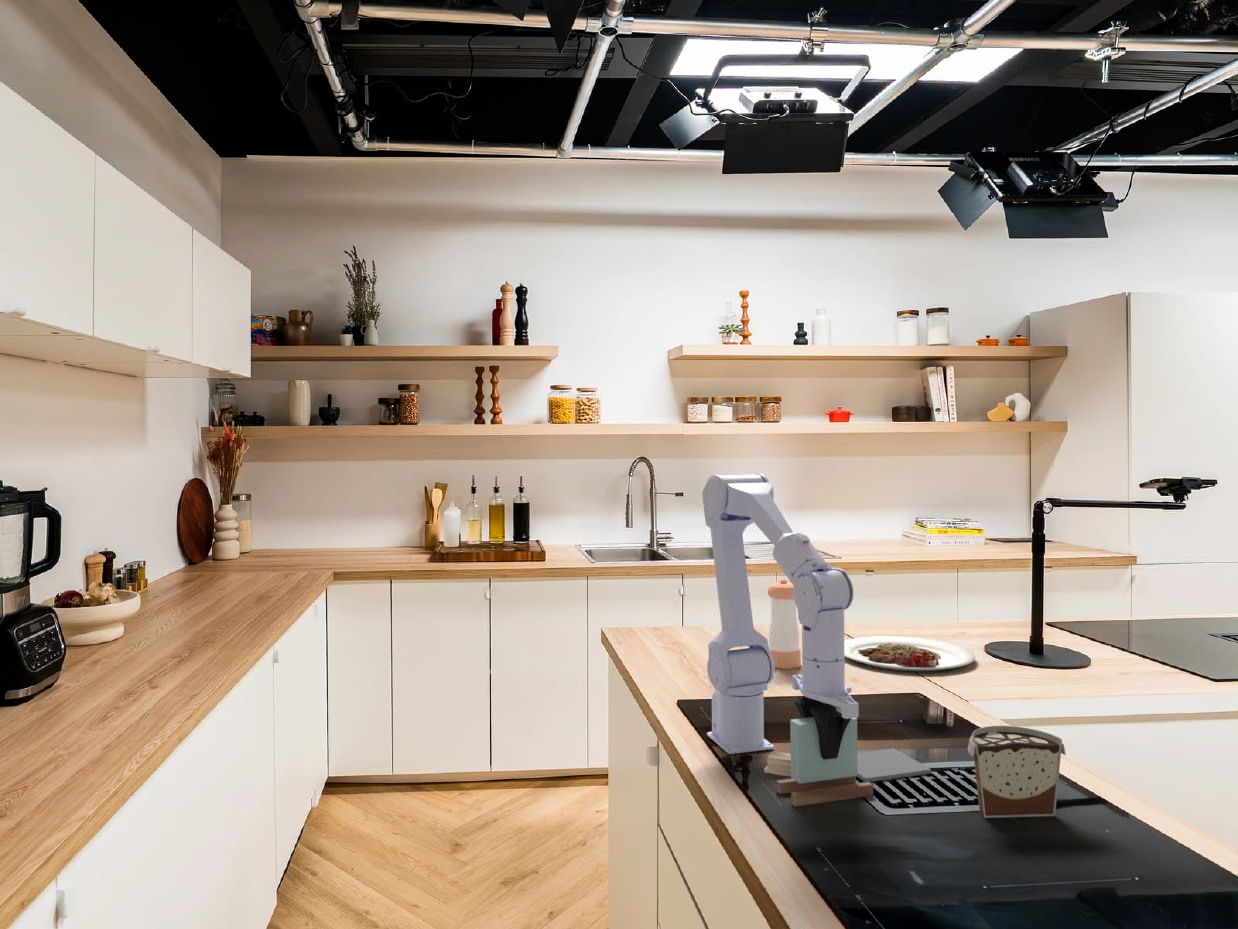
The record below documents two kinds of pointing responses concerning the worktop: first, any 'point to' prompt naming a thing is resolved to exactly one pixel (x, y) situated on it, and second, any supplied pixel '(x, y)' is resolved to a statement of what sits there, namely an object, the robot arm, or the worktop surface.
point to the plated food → (907, 653)
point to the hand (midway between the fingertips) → (823, 754)
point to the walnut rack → (824, 790)
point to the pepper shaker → (783, 626)
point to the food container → (1016, 771)
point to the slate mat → (887, 765)
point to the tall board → (808, 756)
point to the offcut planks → (778, 763)
